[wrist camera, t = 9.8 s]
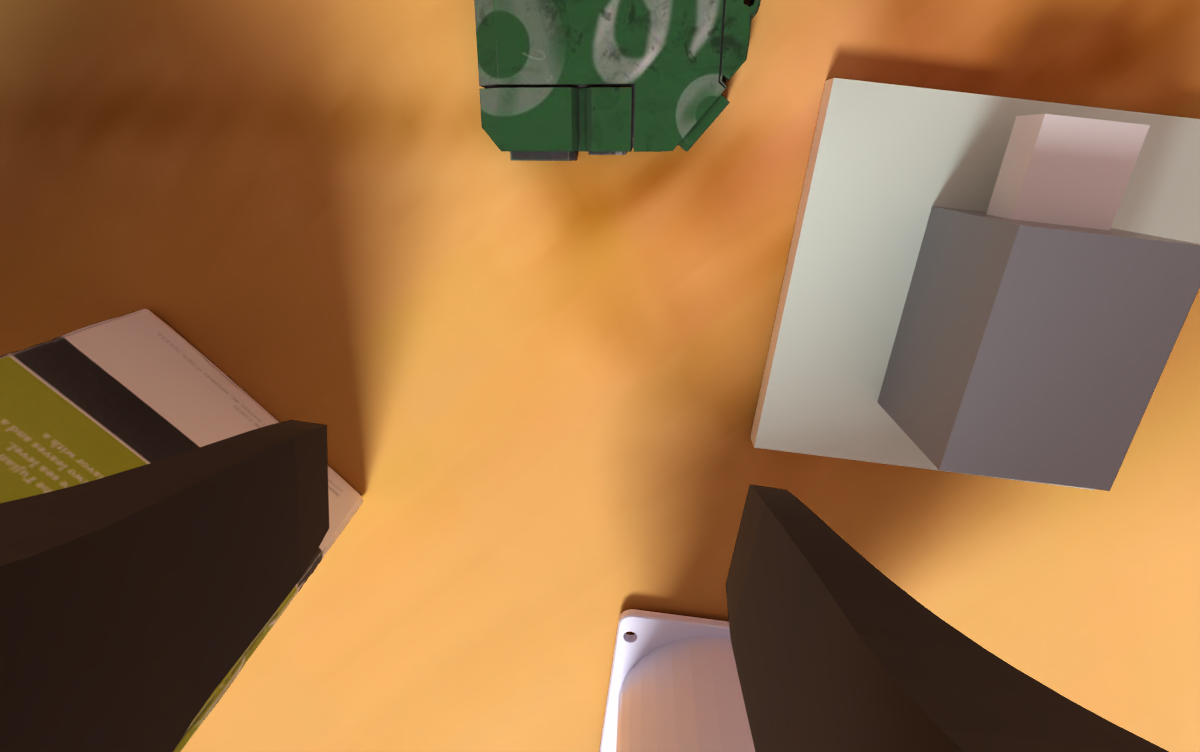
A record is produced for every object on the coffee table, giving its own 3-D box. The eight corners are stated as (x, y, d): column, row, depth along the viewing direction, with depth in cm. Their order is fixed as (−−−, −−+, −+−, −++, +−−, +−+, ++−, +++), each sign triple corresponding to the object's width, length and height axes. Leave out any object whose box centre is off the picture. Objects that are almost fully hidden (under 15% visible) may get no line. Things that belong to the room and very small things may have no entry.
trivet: (1078, 477, 21) (1094, 489, 20) (750, 436, 21) (754, 447, 21) (1227, 125, 17) (1253, 125, 17) (825, 80, 18) (833, 77, 17)
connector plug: (1011, 418, 20) (1109, 490, 16) (877, 402, 20) (939, 470, 16) (1116, 131, 17) (1269, 127, 13) (958, 113, 17) (1059, 104, 13)
